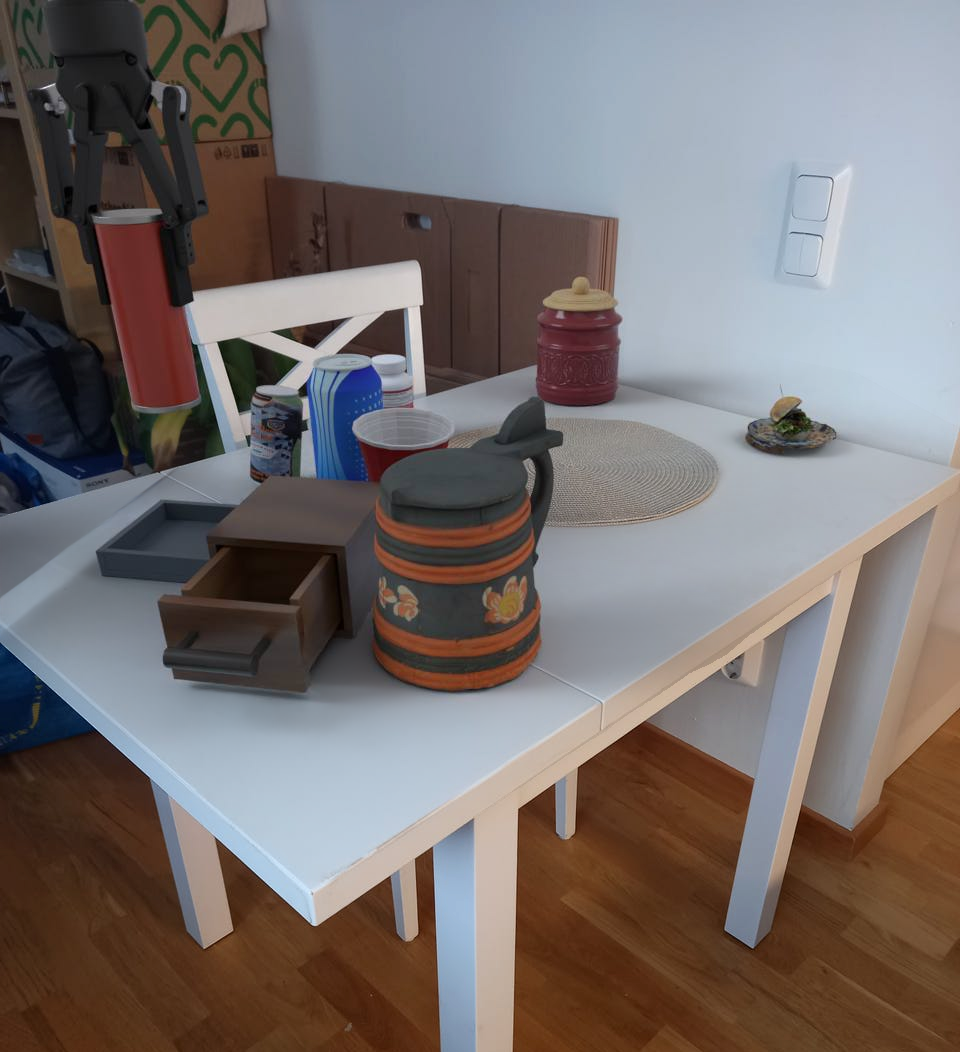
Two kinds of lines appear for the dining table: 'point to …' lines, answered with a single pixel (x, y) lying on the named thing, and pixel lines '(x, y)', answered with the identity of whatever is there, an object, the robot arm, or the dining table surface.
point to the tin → (146, 312)
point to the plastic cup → (399, 436)
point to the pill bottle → (394, 381)
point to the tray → (163, 542)
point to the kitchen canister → (578, 346)
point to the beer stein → (463, 557)
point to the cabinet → (313, 532)
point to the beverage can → (275, 432)
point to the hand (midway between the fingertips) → (147, 302)
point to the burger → (788, 429)
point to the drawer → (253, 618)
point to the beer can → (341, 413)
